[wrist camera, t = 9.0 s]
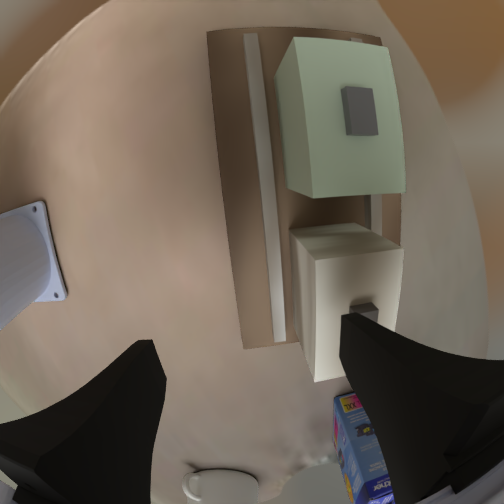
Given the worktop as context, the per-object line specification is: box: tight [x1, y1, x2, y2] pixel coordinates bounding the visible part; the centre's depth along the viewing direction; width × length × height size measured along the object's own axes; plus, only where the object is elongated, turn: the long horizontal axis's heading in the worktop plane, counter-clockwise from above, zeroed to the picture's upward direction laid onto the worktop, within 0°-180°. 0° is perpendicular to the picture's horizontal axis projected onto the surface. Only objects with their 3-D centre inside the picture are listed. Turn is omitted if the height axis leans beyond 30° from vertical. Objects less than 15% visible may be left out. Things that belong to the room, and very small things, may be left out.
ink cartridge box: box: [333, 392, 395, 504], centre depth 18 cm, size 10×6×14 cm, turn 11°
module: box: [274, 37, 406, 198], centre depth 12 cm, size 4×7×7 cm, turn 6°
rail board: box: [207, 27, 404, 382], centre depth 14 cm, size 12×22×8 cm, turn 6°
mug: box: [182, 469, 258, 504], centre depth 25 cm, size 12×10×6 cm
